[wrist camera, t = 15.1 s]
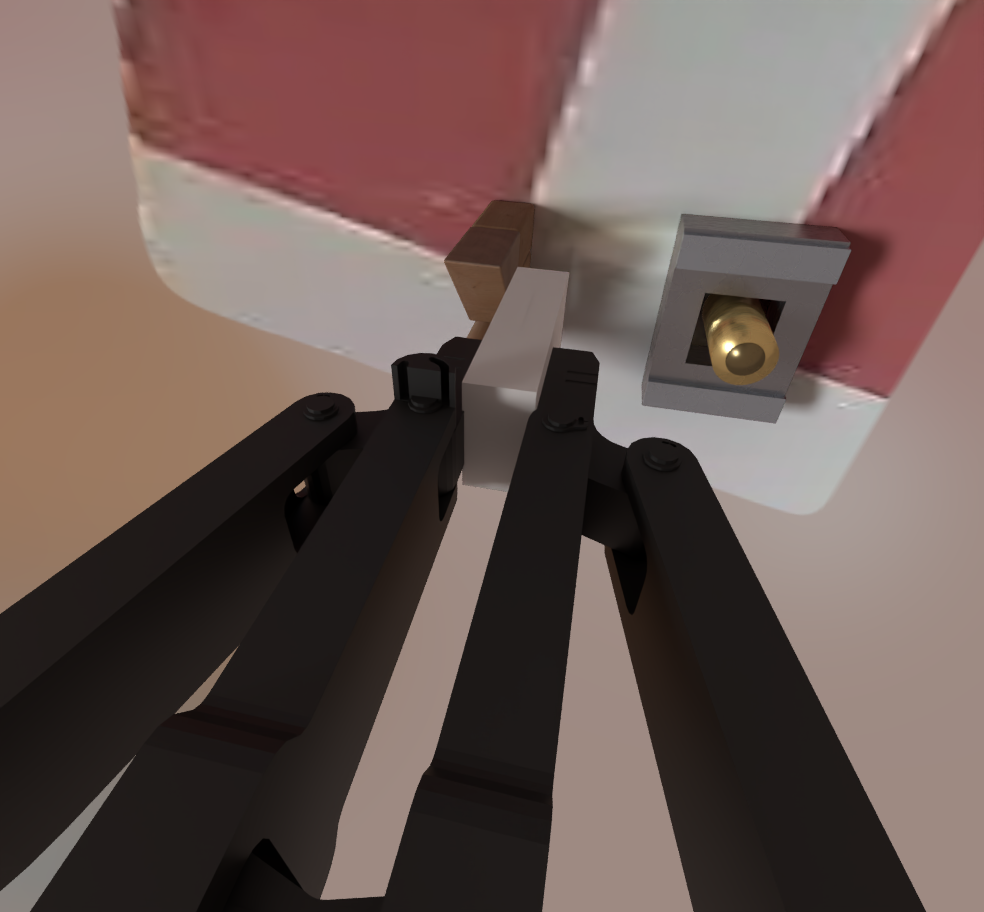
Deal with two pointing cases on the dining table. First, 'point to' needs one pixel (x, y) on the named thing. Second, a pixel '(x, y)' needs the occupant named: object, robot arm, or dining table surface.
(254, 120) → the dining table surface
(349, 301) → the dining table surface
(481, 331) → the brown wooden stand
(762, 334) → the bushing
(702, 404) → the jig
